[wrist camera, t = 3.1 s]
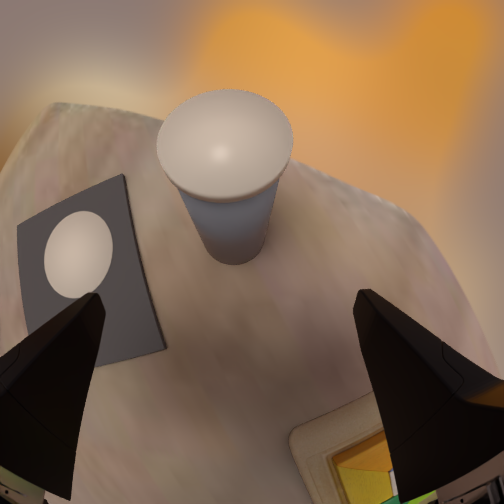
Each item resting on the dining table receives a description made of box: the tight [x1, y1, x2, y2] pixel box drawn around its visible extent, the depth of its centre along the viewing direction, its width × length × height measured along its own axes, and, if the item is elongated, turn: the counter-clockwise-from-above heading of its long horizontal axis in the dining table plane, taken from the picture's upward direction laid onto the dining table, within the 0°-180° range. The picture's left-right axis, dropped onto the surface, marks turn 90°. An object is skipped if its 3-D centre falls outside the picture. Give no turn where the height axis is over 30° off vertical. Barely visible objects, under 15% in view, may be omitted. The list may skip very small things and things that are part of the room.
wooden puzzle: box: [289, 391, 437, 504], centre depth 17 cm, size 18×19×4 cm
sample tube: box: [157, 89, 293, 265], centre depth 17 cm, size 5×5×13 cm
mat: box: [17, 174, 166, 367], centre depth 21 cm, size 16×14×1 cm
